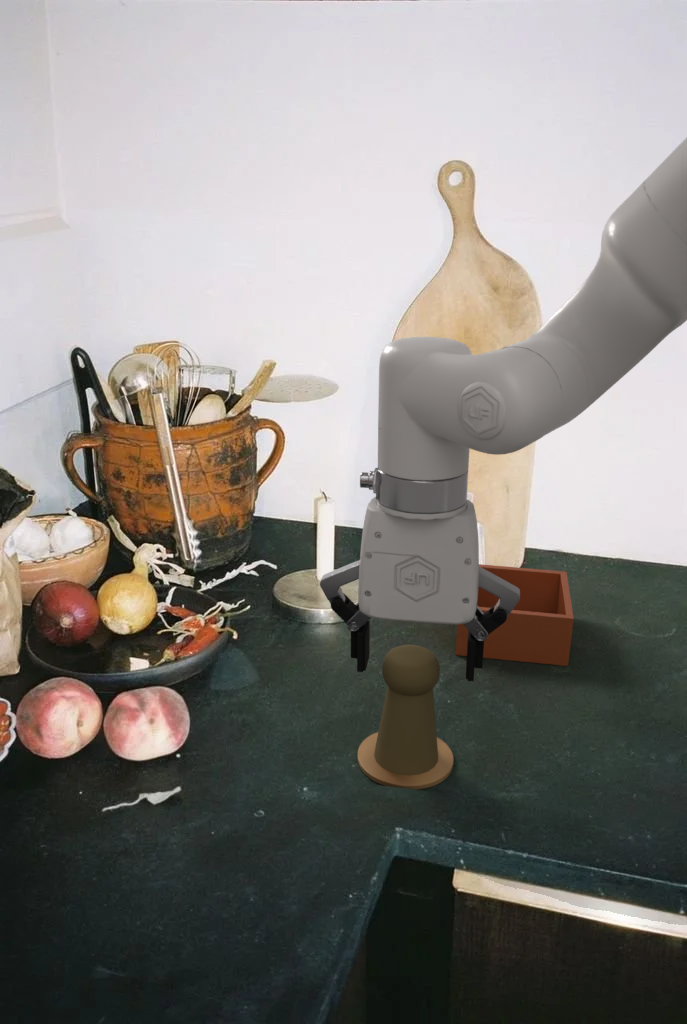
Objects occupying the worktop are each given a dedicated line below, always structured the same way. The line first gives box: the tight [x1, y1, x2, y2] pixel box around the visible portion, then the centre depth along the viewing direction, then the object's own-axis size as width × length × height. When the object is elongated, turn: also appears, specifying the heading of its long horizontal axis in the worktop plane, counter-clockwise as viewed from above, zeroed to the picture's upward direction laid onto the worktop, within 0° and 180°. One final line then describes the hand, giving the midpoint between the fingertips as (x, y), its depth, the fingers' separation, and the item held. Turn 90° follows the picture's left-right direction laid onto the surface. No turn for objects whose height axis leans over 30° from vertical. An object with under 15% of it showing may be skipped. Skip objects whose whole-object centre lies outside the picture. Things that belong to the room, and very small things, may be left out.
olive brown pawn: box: [374, 644, 441, 775], centre depth 86 cm, size 6×6×11 cm
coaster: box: [356, 731, 454, 791], centre depth 88 cm, size 9×9×1 cm
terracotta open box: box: [454, 563, 575, 667], centre depth 110 cm, size 13×13×6 cm
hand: (416, 668), depth 84 cm, fingers open, 9 cm apart
